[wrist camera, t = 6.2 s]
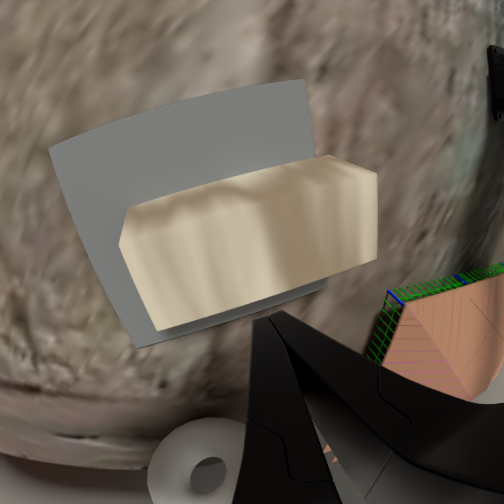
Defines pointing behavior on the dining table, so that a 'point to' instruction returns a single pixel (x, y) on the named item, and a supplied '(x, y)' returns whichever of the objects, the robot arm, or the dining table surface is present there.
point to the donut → (196, 461)
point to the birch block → (249, 237)
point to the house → (449, 336)
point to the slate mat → (176, 178)
